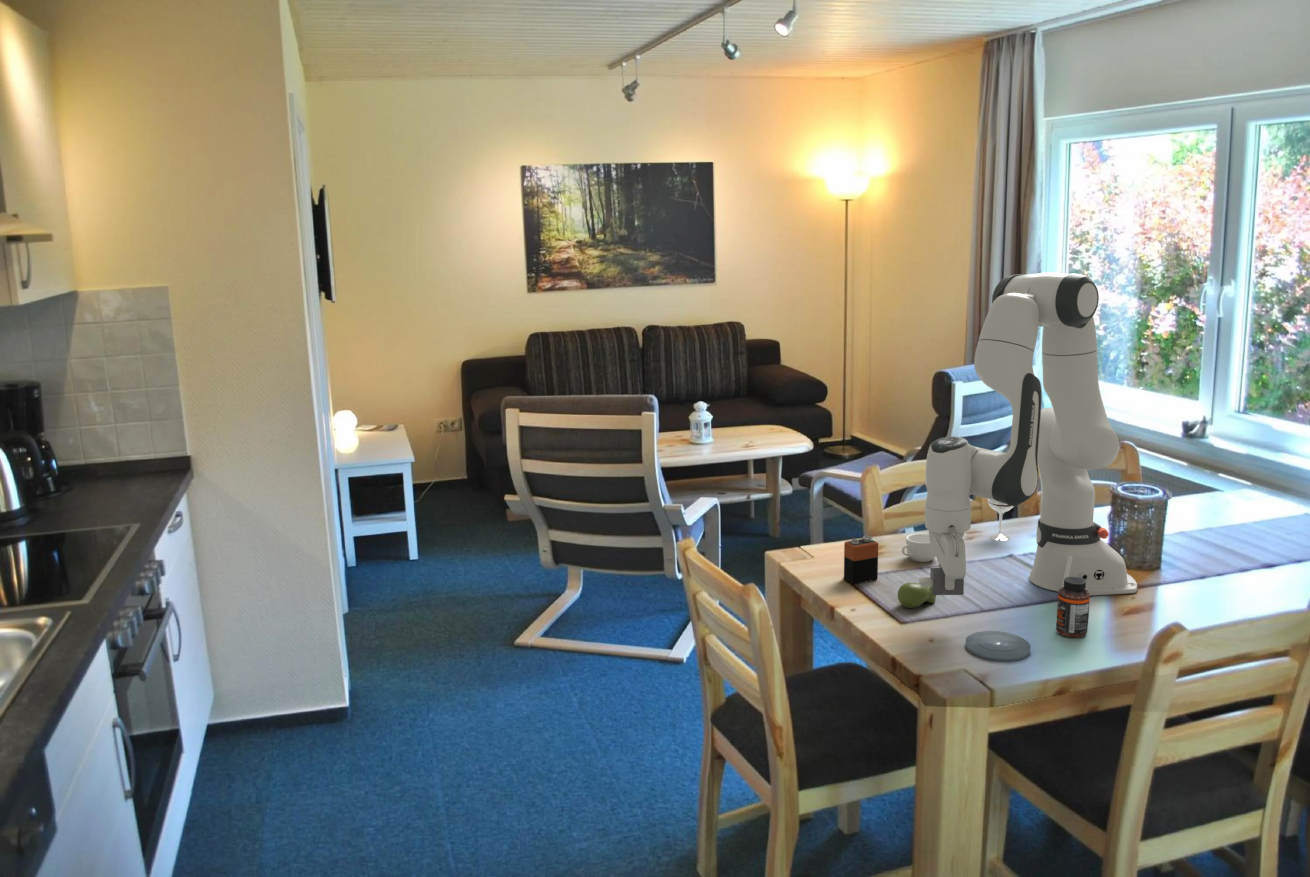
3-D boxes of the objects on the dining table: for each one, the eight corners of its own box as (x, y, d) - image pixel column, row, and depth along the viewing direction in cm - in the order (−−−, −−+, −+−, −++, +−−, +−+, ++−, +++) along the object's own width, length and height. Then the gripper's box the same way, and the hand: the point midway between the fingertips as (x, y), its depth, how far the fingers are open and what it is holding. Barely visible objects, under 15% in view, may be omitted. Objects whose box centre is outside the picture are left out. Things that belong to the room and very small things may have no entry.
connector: (960, 588, 212) (960, 567, 211) (963, 594, 209) (963, 573, 208) (918, 588, 213) (918, 568, 212) (921, 595, 210) (921, 574, 209)
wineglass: (990, 531, 272) (993, 487, 269) (1017, 535, 268) (1019, 491, 265) (982, 538, 267) (984, 493, 264) (1008, 543, 263) (1011, 497, 260)
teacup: (923, 552, 258) (924, 531, 257) (945, 561, 251) (945, 539, 250) (891, 559, 254) (892, 537, 252) (912, 568, 247) (913, 546, 246)
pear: (893, 580, 224) (924, 577, 230) (890, 604, 224) (921, 601, 230) (914, 587, 219) (944, 584, 225) (910, 612, 220) (941, 608, 226)
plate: (1022, 636, 207) (1022, 630, 207) (1037, 662, 196) (1037, 656, 195) (960, 635, 208) (960, 629, 208) (971, 660, 197) (972, 654, 197)
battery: (878, 580, 240) (879, 538, 237) (853, 584, 237) (854, 543, 235) (867, 574, 244) (868, 533, 241) (842, 578, 241) (843, 537, 239)
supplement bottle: (1050, 628, 211) (1053, 575, 208) (1078, 626, 211) (1082, 573, 209) (1063, 640, 205) (1067, 585, 202) (1093, 638, 205) (1096, 584, 203)
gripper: (974, 535, 197) (973, 603, 200) (954, 503, 217) (953, 566, 220) (940, 535, 198) (939, 603, 201) (923, 504, 218) (923, 567, 221)
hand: (946, 584), depth 211 cm, fingers closed on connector, 3 cm apart
